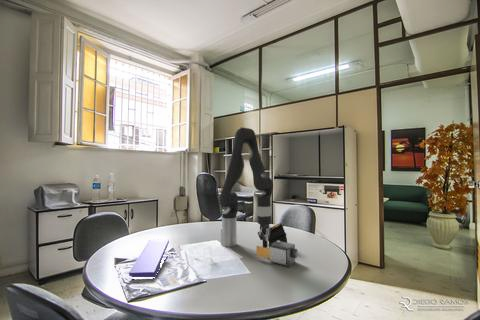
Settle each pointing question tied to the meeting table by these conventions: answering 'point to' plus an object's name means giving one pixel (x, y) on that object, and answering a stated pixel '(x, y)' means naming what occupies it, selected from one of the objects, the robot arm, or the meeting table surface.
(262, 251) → the orange and gray panel
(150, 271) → the purple slab
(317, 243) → the meeting table surface
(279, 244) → the grey box with knob
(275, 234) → the black ribbed block
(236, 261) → the meeting table surface
